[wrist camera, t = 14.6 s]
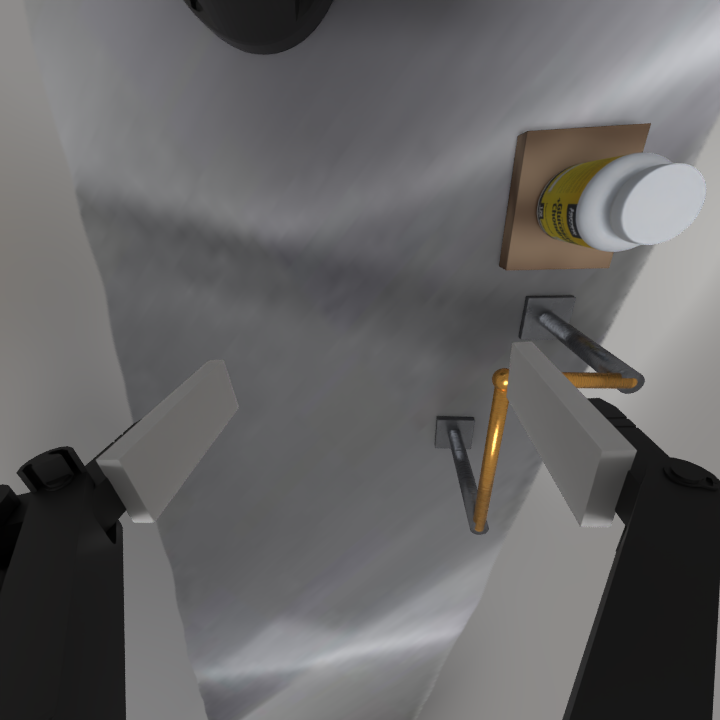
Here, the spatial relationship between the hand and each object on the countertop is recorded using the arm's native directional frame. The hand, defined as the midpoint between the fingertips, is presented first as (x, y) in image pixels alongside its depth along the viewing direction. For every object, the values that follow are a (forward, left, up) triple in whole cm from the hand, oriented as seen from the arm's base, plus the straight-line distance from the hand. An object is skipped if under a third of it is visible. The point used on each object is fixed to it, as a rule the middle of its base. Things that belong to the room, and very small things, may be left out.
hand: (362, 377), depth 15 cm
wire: (+14, +15, -25) cm, 32 cm away
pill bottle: (-6, +18, -23) cm, 30 cm away
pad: (-6, +18, -25) cm, 32 cm away
